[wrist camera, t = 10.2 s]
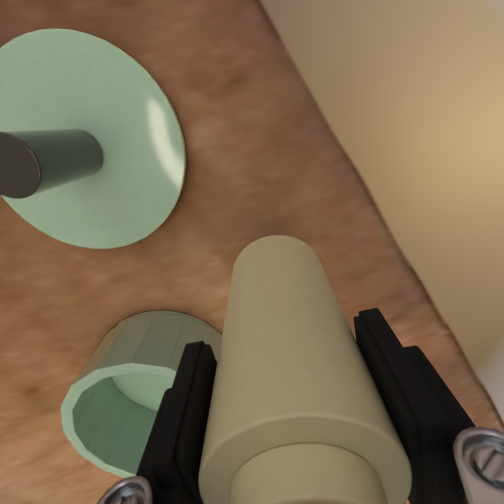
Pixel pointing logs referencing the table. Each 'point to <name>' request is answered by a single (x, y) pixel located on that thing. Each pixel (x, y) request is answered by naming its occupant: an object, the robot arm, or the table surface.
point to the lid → (86, 140)
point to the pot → (128, 387)
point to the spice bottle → (295, 394)
